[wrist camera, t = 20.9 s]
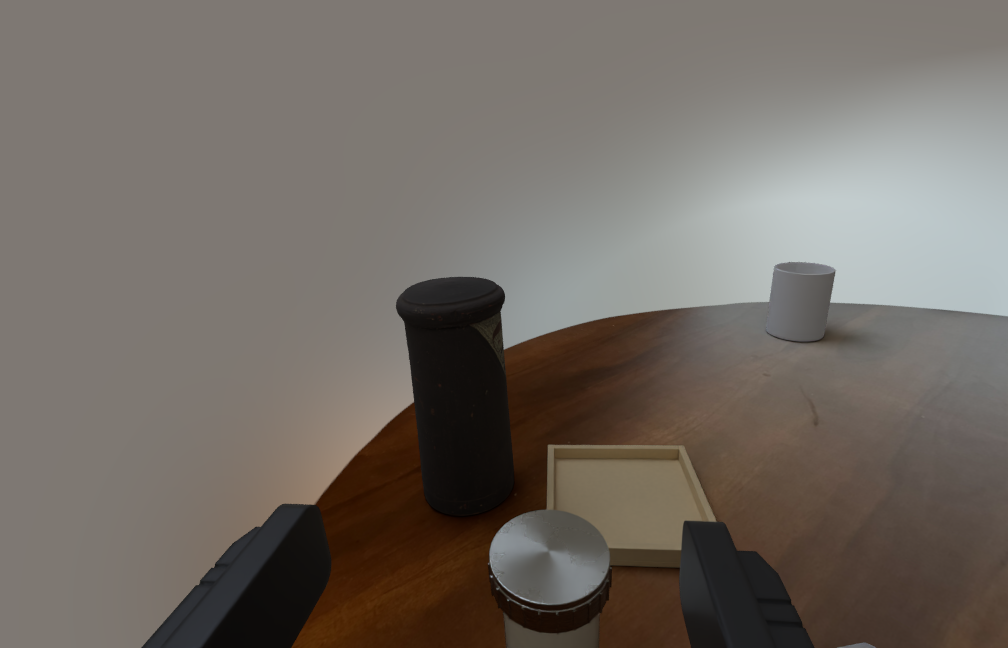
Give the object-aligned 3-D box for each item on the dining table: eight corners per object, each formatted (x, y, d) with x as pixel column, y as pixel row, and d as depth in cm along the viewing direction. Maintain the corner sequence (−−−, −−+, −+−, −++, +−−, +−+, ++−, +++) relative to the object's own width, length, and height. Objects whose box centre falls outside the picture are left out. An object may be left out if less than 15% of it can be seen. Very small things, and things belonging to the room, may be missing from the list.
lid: (482, 632, 22) (479, 602, 21) (497, 532, 28) (495, 507, 27) (618, 639, 21) (618, 609, 21) (604, 535, 27) (605, 509, 26)
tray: (546, 563, 37) (545, 546, 36) (548, 458, 49) (547, 444, 48) (727, 569, 35) (730, 551, 35) (682, 459, 48) (683, 445, 47)
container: (534, 493, 44) (525, 282, 37) (446, 536, 40) (417, 306, 33) (487, 449, 51) (472, 264, 44) (407, 481, 47) (377, 282, 40)
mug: (831, 343, 71) (844, 274, 68) (771, 341, 73) (781, 274, 70) (806, 316, 82) (816, 256, 79) (755, 315, 84) (763, 256, 81)
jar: (506, 748, 25) (493, 601, 22) (514, 655, 30) (504, 521, 27) (602, 756, 25) (604, 606, 21) (595, 660, 30) (596, 523, 26)
